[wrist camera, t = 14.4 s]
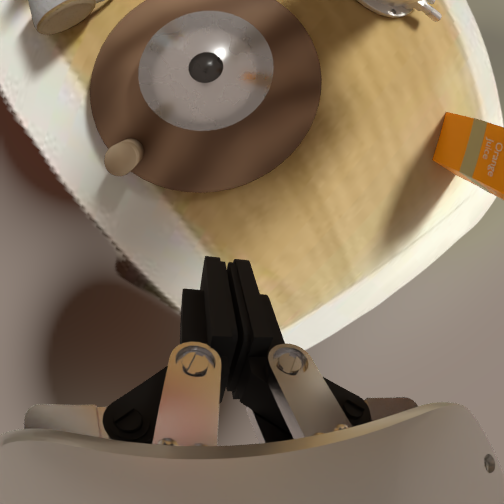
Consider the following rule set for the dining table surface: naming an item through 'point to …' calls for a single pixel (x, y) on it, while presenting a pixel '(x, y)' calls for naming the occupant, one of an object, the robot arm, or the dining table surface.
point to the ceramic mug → (59, 14)
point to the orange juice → (473, 151)
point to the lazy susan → (214, 141)
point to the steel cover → (205, 70)
